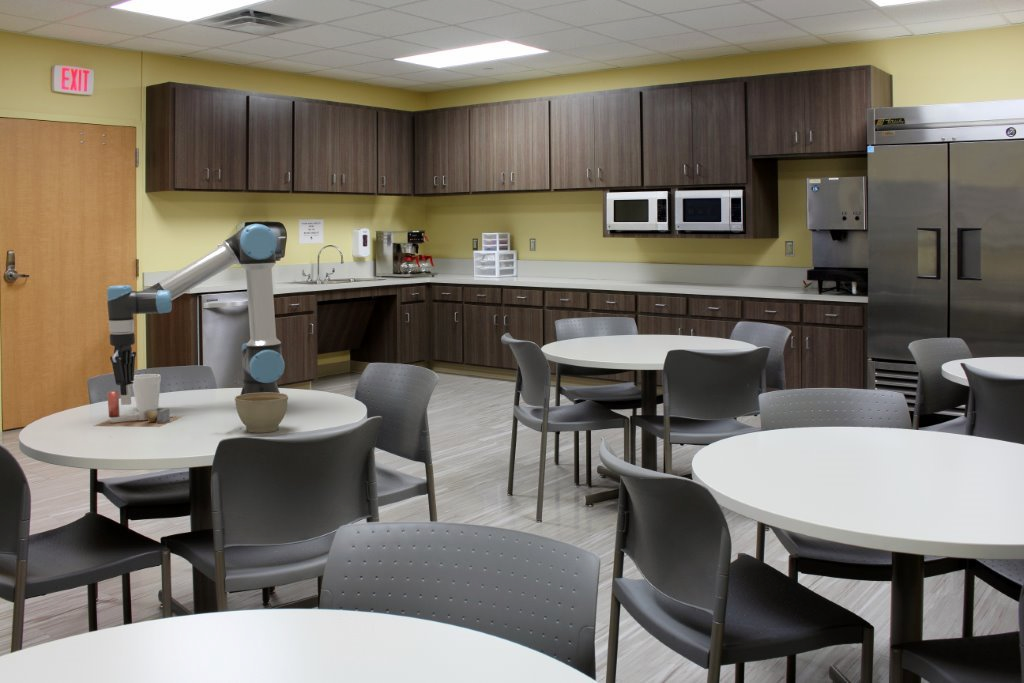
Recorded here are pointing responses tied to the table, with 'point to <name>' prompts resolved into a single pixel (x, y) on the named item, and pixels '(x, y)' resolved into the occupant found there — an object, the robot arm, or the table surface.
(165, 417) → the two-tone textured tile
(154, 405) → the foam cup
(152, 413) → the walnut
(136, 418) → the lever
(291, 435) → the table surface
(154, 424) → the board
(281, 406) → the planter bowl
